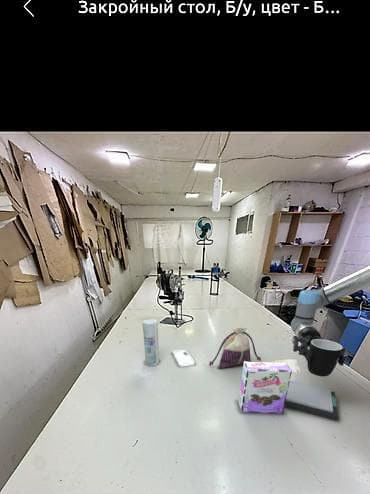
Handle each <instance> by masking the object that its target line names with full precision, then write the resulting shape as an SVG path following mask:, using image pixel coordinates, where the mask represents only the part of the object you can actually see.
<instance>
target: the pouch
mask: <svg viewBox="0 0 370 494" xmlns="http://www.w3.org/2000/svg"><path fill="white" fill-rule="evenodd" d="M231 330H232V331H233V332H232V333H230V334H228V335H227V336H226V337H225V338H224V339H223V340H222V342H221V343H220V345H219V348H218V351H217V352H216V355H215V357H214V358H213V359H212V361H209V363H208V366H209V367H211V366H213V365H214V362H215V361H217V358H218V356H219V354H220V352H221V354H220V358H219V361H218V365H217V368H218V369H223V368H229V367H236V366H240V365H243V364H244V361H247V362H252V360H251V359H252V358H251V345H252V351H253V354H254V356H255V357H256V360H257V361H258V362H262V358H261V356H258V354H257V352H256V347H255V343H254V340H253V338H252V337H251V335H250V334H249V333H248V332H246V331H247V328H246V327H237V328H236V329H232V328H231ZM250 342H251V345H250ZM221 350H222V351H221Z"/></svg>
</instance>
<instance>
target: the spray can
mask: <svg viewBox="0 0 370 494" xmlns="http://www.w3.org/2000/svg"><path fill="white" fill-rule="evenodd" d="M142 330H143V331H142V333H143V346H144V360H145V364H146V365H147V366H156V365H158V364H159V363H160V345H159V344H160V343H159V321H158V319H154V318H148V319H145V320H143V321H142Z"/></svg>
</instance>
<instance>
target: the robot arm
mask: <svg viewBox="0 0 370 494" xmlns="http://www.w3.org/2000/svg"><path fill="white" fill-rule="evenodd" d="M368 287H370V264H369V265H367V266H364V267H362V268H361V269H358V270H356V271H355V272H352V273H349V274H348V275H346V276H344V277H342V278H340V279H337V280H336V281H334V282H332V283H329V284H327V285H326V286H323V287H322V288H319V289H318V290H313V289H304V290H301V291H300V292H299V295H298V298H297V303H296V309H295V314H294V317H293V319H292V320H291V322H290V327H291V330H292V332H293V333H294V335H293V336H292V340H291V342H292V344H293V348H292V351H293V352H295V353H297V352H298V355H299V356H303V357H304V358H305V361H306V363H307V362H310V361H311V358H312V354H311V352H310V351H309V348H310V344H311V341H312V340H315V339H323V340H325V338H323V337H322V336H321V333H320V331H318V329H317V328H316V327H315V326H314V324H313V323H314V320H315V317H316V313H317V310H319V309H320V308H322V307H324V306H327V305H329V304H332V303H334V302H337V301H338V300H341V299H343V298H346V297H348V296H350V295H352V294H354V293H357V292H360V291H362V290H364V289H367V288H368ZM328 340H329V341H333V342H335V341H334V340H333V339H332V338H328ZM299 343H300V344H301V345H299ZM346 350H347V349H346V348H345V347H343V349H342V352H341V355H340V357H339V360H338V362H337V364H339V366H341V367H342V366H344V364H345V362H346V357H345V354H346Z"/></svg>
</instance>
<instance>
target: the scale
mask: <svg viewBox="0 0 370 494" xmlns="http://www.w3.org/2000/svg"><path fill="white" fill-rule="evenodd" d="M284 408H288V409H291V410H295V411H299V412H302V413H306V414H310V415H314V416H317V417H320V418H323V419H327V420H331V421H335V422H337V421H338V419H339V412H338V404H337V398H336V391H334V390H331V389H327V388H323V387H318V386H315V385H310V384H305V383H301V382H297V381H292V380H290V382H289V387H288V391H287V396H286V400H285V405H284Z"/></svg>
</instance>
